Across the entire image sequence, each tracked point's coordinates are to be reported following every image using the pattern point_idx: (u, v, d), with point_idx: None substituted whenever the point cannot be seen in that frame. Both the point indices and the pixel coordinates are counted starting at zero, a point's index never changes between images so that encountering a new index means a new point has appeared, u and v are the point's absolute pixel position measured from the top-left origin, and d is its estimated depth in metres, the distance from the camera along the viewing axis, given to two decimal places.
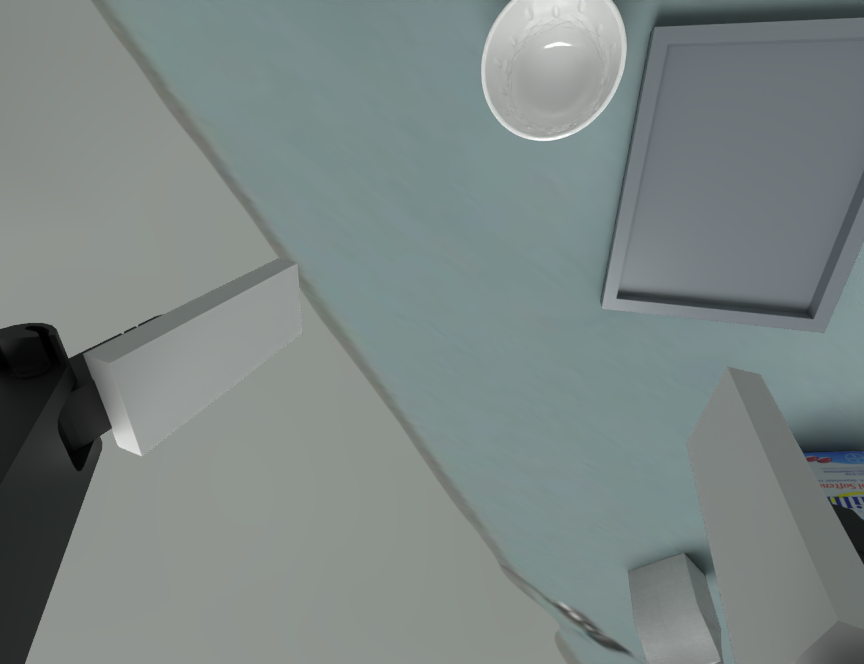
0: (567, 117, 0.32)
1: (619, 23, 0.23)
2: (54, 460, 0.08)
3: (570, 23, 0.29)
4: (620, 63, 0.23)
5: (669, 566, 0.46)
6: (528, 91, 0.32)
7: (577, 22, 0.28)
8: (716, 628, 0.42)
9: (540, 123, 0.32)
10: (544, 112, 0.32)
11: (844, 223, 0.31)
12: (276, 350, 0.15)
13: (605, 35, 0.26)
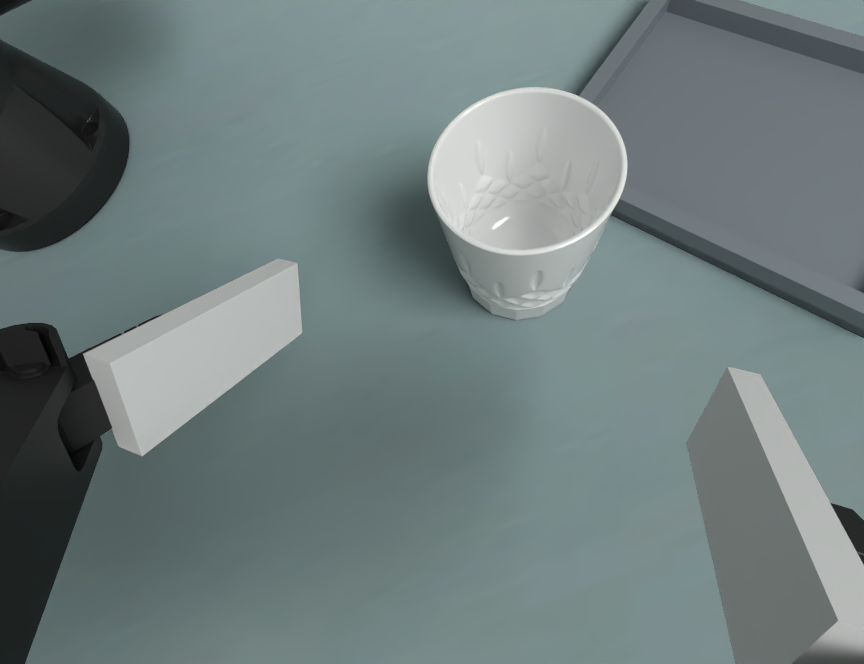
0: None
1: (531, 90, 0.18)
2: (54, 460, 0.08)
3: (479, 209, 0.25)
4: (573, 101, 0.18)
5: None
6: None
7: (484, 197, 0.24)
8: None
9: None
10: None
11: (842, 62, 0.26)
12: (276, 350, 0.15)
13: (520, 157, 0.22)
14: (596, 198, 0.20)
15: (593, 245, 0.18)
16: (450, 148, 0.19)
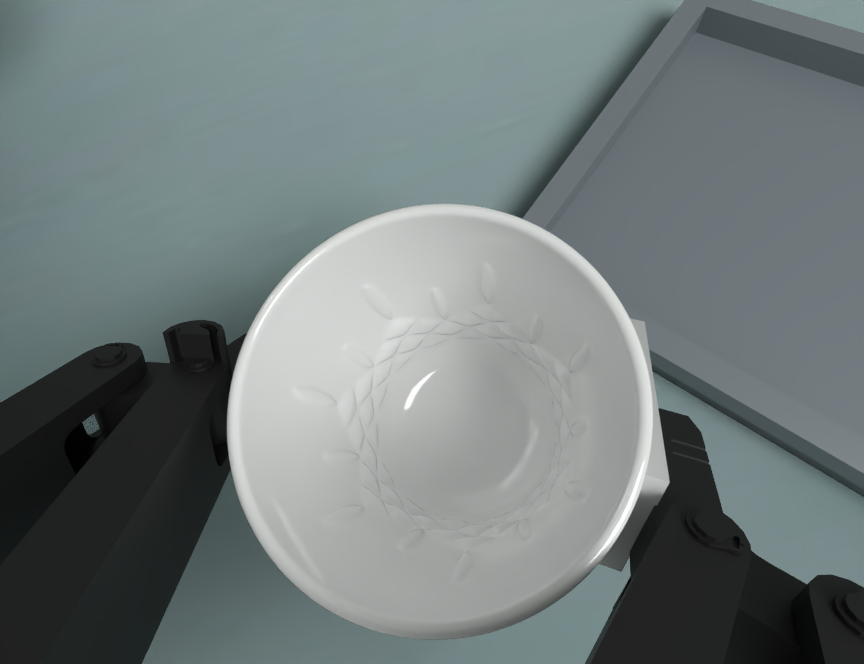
0: (542, 439, 0.15)
1: (451, 210, 0.09)
2: (202, 456, 0.08)
3: (400, 355, 0.15)
4: (536, 239, 0.09)
5: None
6: (450, 482, 0.15)
7: (405, 341, 0.15)
8: None
9: (522, 495, 0.14)
10: (505, 475, 0.15)
11: None
12: None
13: (455, 294, 0.13)
14: (586, 398, 0.11)
15: None
16: (299, 313, 0.10)
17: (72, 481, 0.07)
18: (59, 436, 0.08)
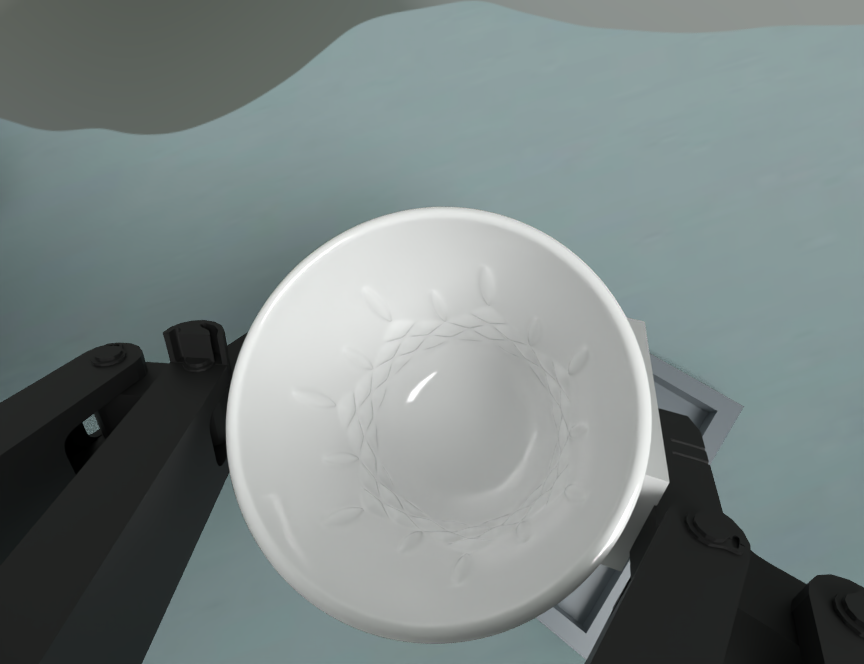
0: (542, 442, 0.15)
1: (450, 213, 0.09)
2: (202, 456, 0.08)
3: (399, 357, 0.15)
4: (535, 243, 0.09)
5: None
6: (450, 483, 0.15)
7: (404, 343, 0.15)
8: None
9: (521, 497, 0.14)
10: (505, 477, 0.15)
11: None
12: None
13: (454, 296, 0.13)
14: (585, 401, 0.11)
15: None
16: (298, 316, 0.10)
17: (71, 481, 0.07)
18: (59, 436, 0.08)
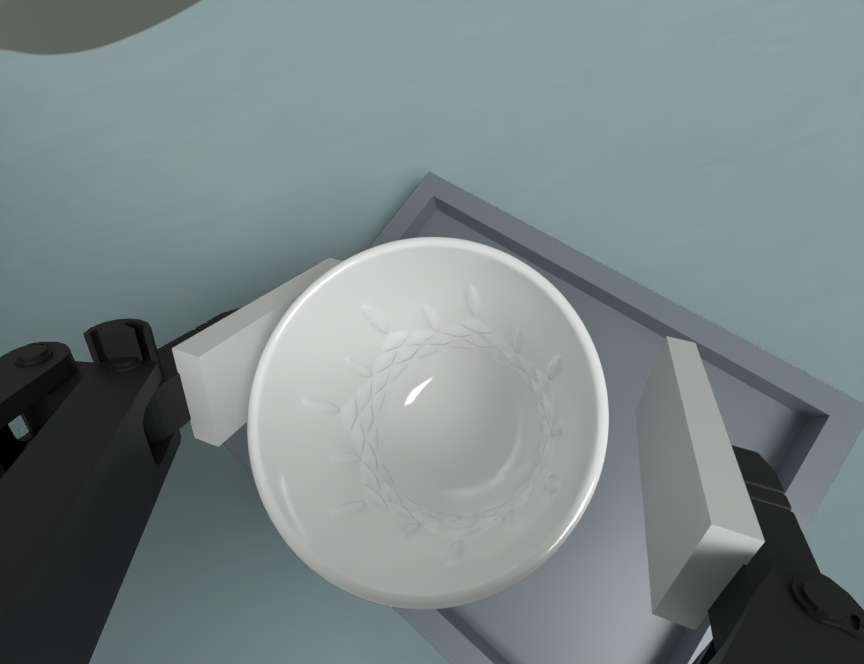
0: (528, 439, 0.16)
1: (438, 243, 0.10)
2: (137, 454, 0.08)
3: (396, 364, 0.17)
4: (511, 268, 0.10)
5: None
6: (445, 480, 0.16)
7: (401, 352, 0.16)
8: None
9: (510, 490, 0.15)
10: (495, 473, 0.16)
11: (639, 321, 0.18)
12: None
13: (445, 310, 0.14)
14: (562, 403, 0.12)
15: None
16: (306, 333, 0.11)
17: None
18: None
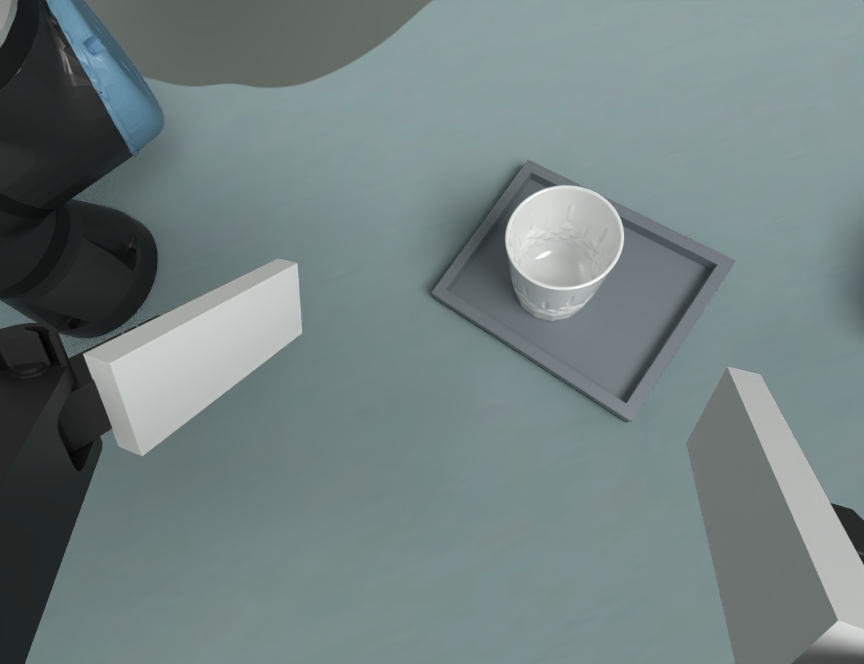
0: (586, 279, 0.37)
1: (566, 187, 0.31)
2: (54, 460, 0.08)
3: (526, 248, 0.37)
4: (591, 194, 0.30)
5: None
6: None
7: (530, 241, 0.36)
8: None
9: None
10: None
11: (636, 230, 0.39)
12: (277, 349, 0.15)
13: (555, 218, 0.34)
14: (605, 247, 0.32)
15: (604, 279, 0.31)
16: (516, 221, 0.32)
17: None
18: None
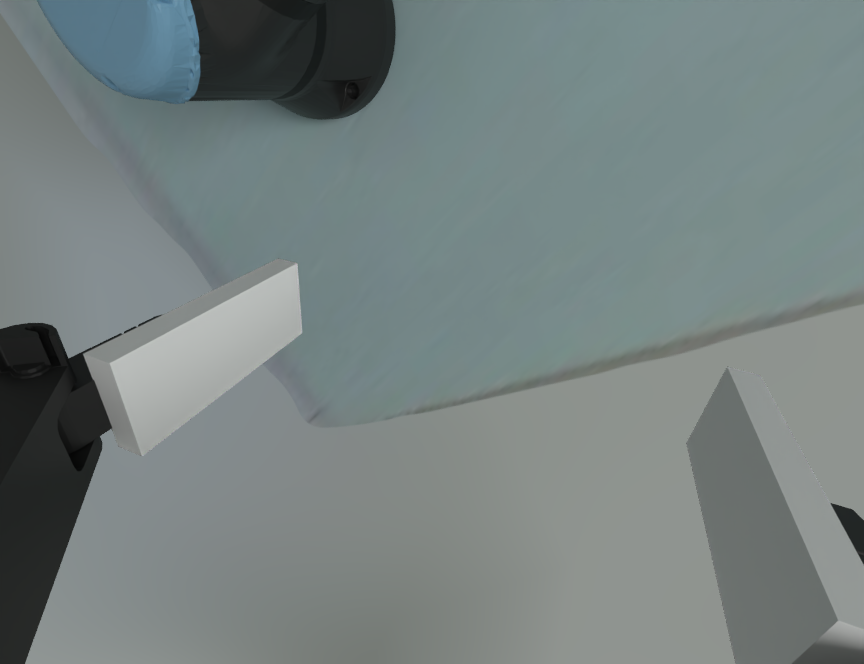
0: None
1: None
2: (54, 460, 0.08)
3: None
4: None
5: None
6: None
7: None
8: None
9: None
10: None
11: None
12: (276, 349, 0.15)
13: None
14: None
15: None
16: None
17: None
18: None
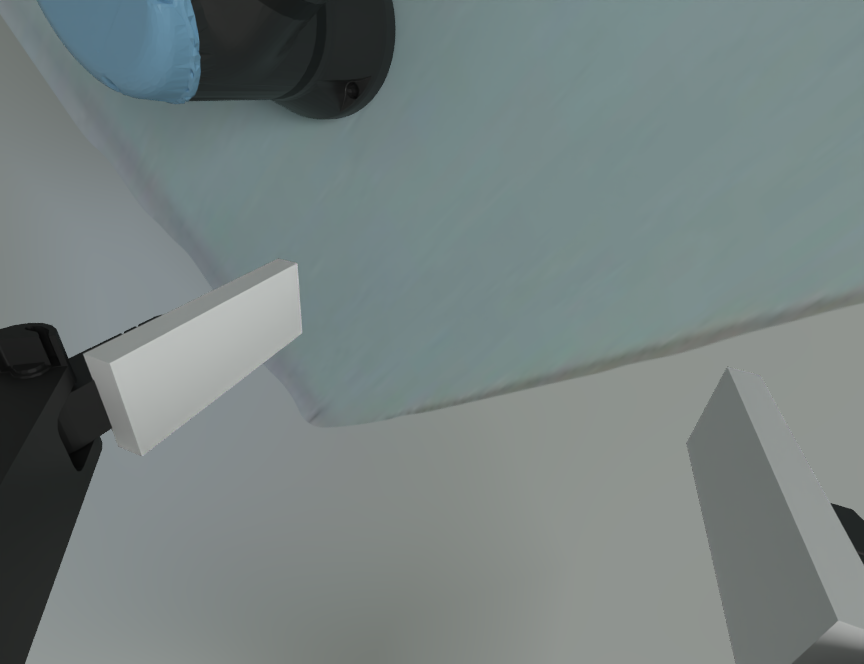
0: None
1: None
2: (54, 460, 0.08)
3: None
4: None
5: None
6: None
7: None
8: None
9: None
10: None
11: None
12: (276, 350, 0.15)
13: None
14: None
15: None
16: None
17: None
18: None
